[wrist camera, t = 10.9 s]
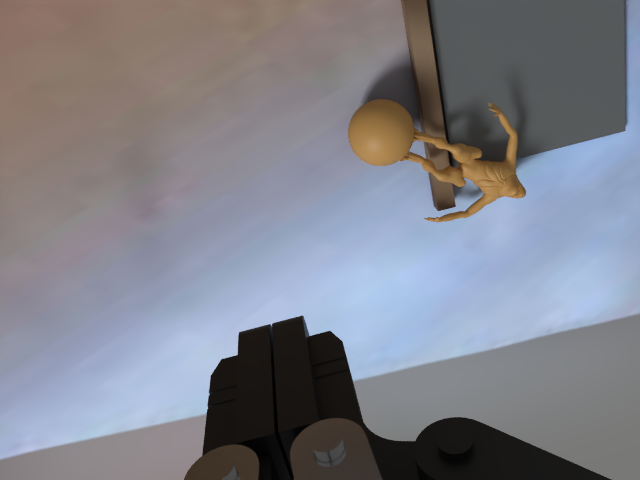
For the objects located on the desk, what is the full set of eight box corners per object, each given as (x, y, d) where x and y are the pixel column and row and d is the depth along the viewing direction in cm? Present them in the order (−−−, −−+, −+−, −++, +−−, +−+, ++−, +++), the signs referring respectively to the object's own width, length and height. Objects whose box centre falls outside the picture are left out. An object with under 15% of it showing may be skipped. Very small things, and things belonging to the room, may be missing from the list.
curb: (393, -49, 33) (397, -50, 32) (413, -54, 33) (418, -56, 32) (433, 205, 39) (438, 211, 38) (451, 201, 39) (455, 206, 38)
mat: (425, -18, 34) (427, -18, 33) (619, -68, 34) (623, -69, 33) (451, 173, 38) (453, 174, 38) (621, 129, 38) (625, 130, 38)
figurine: (379, 55, 31) (577, 149, 31) (385, 48, 37) (553, 129, 37) (319, 187, 34) (498, 272, 35) (332, 163, 40) (487, 236, 40)
